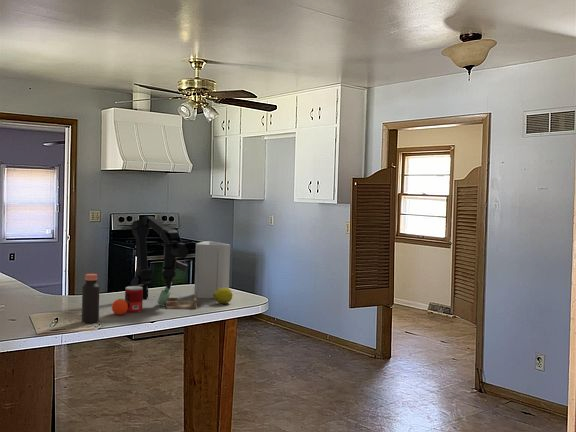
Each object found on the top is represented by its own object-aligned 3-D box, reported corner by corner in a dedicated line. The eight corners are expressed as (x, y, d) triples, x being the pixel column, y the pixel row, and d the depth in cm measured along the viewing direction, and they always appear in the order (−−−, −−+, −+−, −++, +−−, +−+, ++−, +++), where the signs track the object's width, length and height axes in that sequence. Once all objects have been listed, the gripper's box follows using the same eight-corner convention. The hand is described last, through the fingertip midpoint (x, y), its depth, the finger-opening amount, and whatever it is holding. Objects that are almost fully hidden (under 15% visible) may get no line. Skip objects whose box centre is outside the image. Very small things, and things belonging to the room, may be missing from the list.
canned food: (145, 310, 277) (146, 286, 276) (135, 313, 269) (136, 289, 269) (131, 308, 279) (132, 285, 279) (121, 311, 272) (121, 287, 271)
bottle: (156, 303, 286) (165, 281, 286) (157, 301, 290) (166, 279, 290) (165, 306, 286) (174, 284, 286) (165, 304, 291) (174, 282, 291)
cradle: (166, 308, 282) (166, 300, 282) (166, 303, 295) (167, 295, 295) (196, 308, 285) (196, 300, 284) (195, 303, 297) (196, 295, 297)
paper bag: (185, 294, 320) (187, 242, 318) (208, 291, 330) (209, 241, 328) (206, 300, 306) (207, 245, 304) (229, 297, 316) (231, 244, 314)
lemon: (229, 301, 305) (229, 285, 305) (235, 304, 299) (236, 288, 298) (209, 302, 300) (210, 287, 299) (216, 305, 293) (216, 289, 293)
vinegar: (96, 323, 248) (97, 276, 247) (79, 323, 247) (80, 275, 246) (100, 320, 254) (101, 273, 253) (84, 319, 254) (85, 273, 253)
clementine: (123, 311, 272) (124, 296, 271) (132, 314, 267) (133, 298, 267) (108, 314, 266) (108, 298, 265) (117, 317, 261) (118, 301, 261)
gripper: (186, 258, 280) (185, 291, 280) (186, 254, 298) (185, 285, 299) (162, 258, 278) (161, 291, 279) (164, 253, 296) (163, 284, 297)
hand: (168, 288), depth 288 cm, fingers closed on bottle, 2 cm apart
